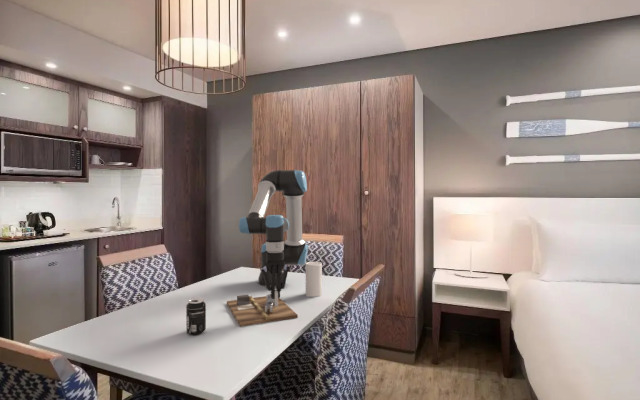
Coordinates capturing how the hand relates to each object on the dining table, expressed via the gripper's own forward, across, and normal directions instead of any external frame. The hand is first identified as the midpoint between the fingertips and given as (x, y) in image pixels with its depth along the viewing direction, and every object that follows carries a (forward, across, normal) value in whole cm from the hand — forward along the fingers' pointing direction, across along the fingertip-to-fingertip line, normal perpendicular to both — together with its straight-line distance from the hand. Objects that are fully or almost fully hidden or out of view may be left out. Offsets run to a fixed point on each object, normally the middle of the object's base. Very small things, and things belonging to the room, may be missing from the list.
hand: (275, 305), depth 150 cm
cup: (+4, +26, +19) cm, 33 cm away
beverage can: (+3, -33, -6) cm, 34 cm away
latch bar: (+1, -1, +4) cm, 5 cm away
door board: (+4, -5, +7) cm, 9 cm away
